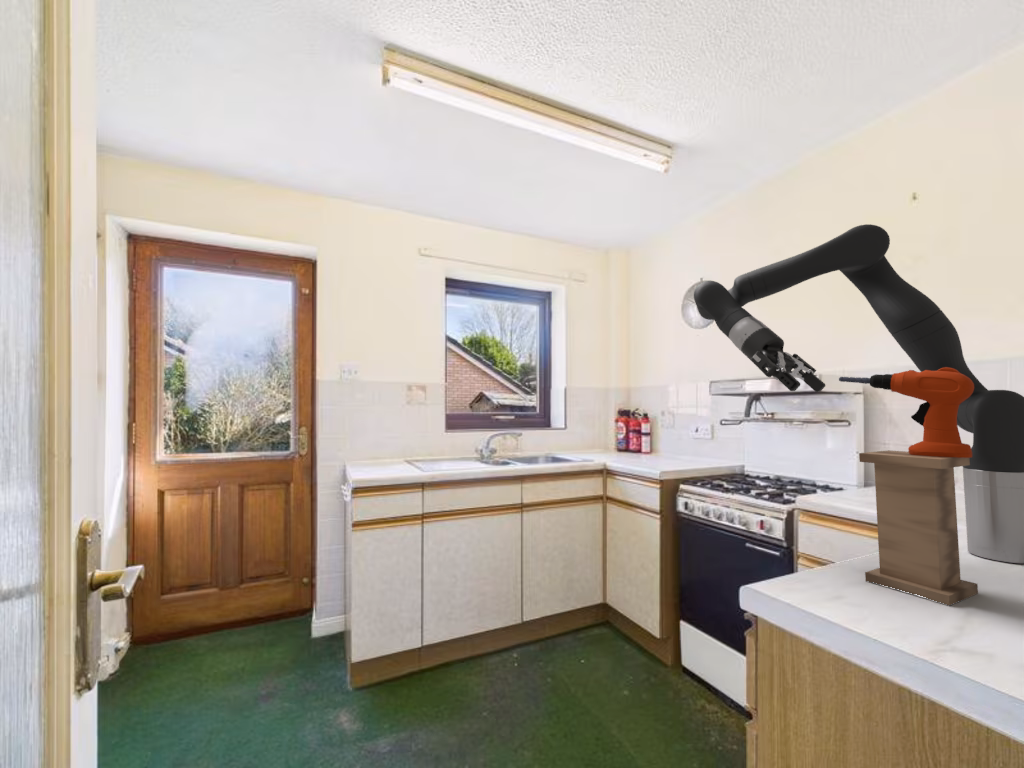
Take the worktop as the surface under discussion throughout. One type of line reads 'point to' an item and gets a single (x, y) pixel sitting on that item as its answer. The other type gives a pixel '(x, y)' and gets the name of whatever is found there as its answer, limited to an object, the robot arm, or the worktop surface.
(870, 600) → the worktop surface
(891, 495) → the walnut stand
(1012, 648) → the worktop surface
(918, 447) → the toy drill
